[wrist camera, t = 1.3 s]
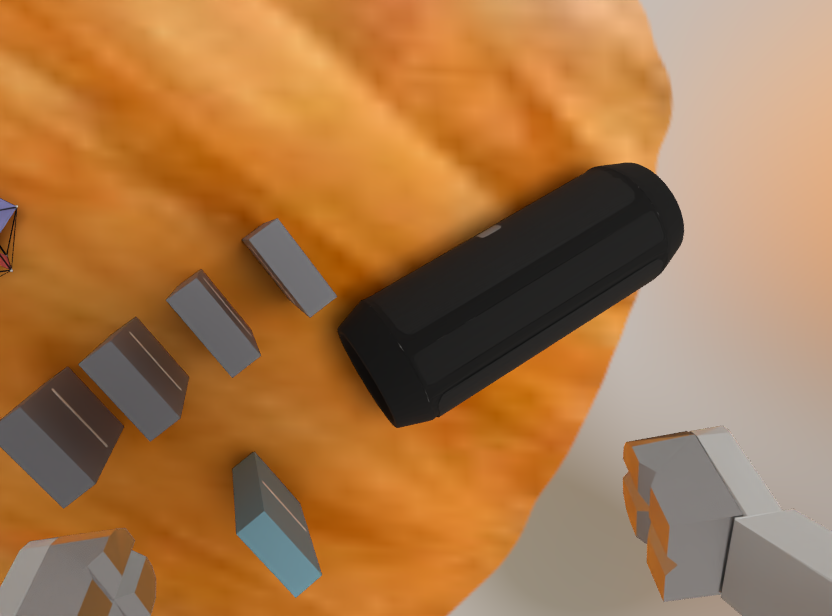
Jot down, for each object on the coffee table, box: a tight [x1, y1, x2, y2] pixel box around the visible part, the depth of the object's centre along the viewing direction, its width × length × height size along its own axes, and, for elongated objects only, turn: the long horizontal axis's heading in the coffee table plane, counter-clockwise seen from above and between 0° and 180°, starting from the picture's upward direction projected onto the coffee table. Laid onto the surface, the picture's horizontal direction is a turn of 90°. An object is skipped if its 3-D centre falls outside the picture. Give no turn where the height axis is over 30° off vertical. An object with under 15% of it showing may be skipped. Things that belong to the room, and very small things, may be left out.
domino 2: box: [78, 317, 189, 441], centre depth 39 cm, size 2×6×11 cm, turn 36°
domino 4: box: [242, 218, 337, 317], centre depth 41 cm, size 2×6×11 cm, turn 36°
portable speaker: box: [338, 163, 684, 428], centre depth 47 cm, size 26×10×10 cm, turn 118°
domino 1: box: [0, 367, 124, 509], centre depth 38 cm, size 2×6×11 cm, turn 36°
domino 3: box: [166, 269, 261, 378], centre depth 40 cm, size 2×6×11 cm, turn 36°
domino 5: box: [232, 451, 322, 598], centre depth 43 cm, size 2×6×11 cm, turn 36°
